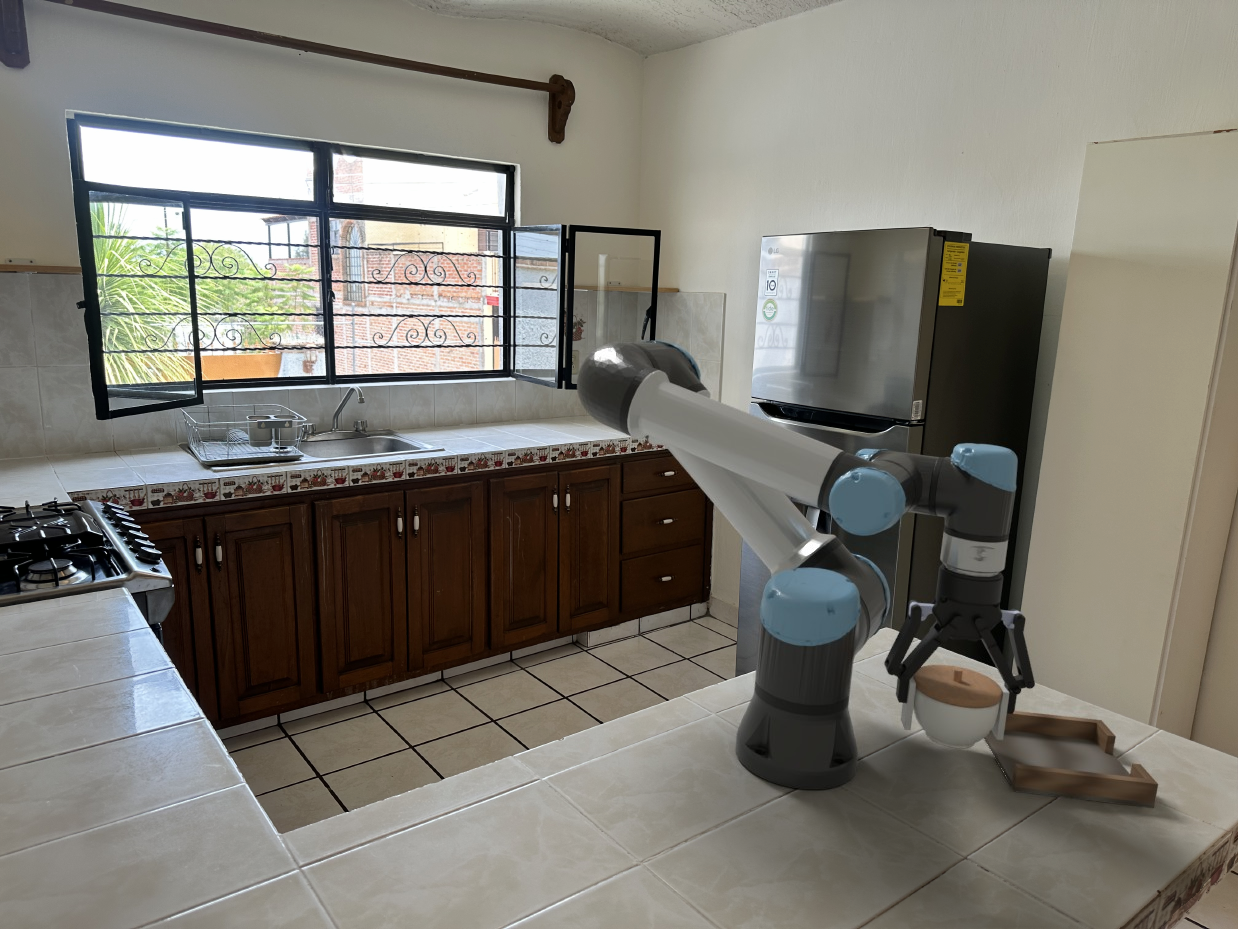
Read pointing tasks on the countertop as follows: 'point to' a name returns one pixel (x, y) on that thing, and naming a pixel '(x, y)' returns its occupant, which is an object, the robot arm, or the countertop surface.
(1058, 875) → the countertop surface
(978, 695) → the lidded jar
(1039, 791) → the holder
